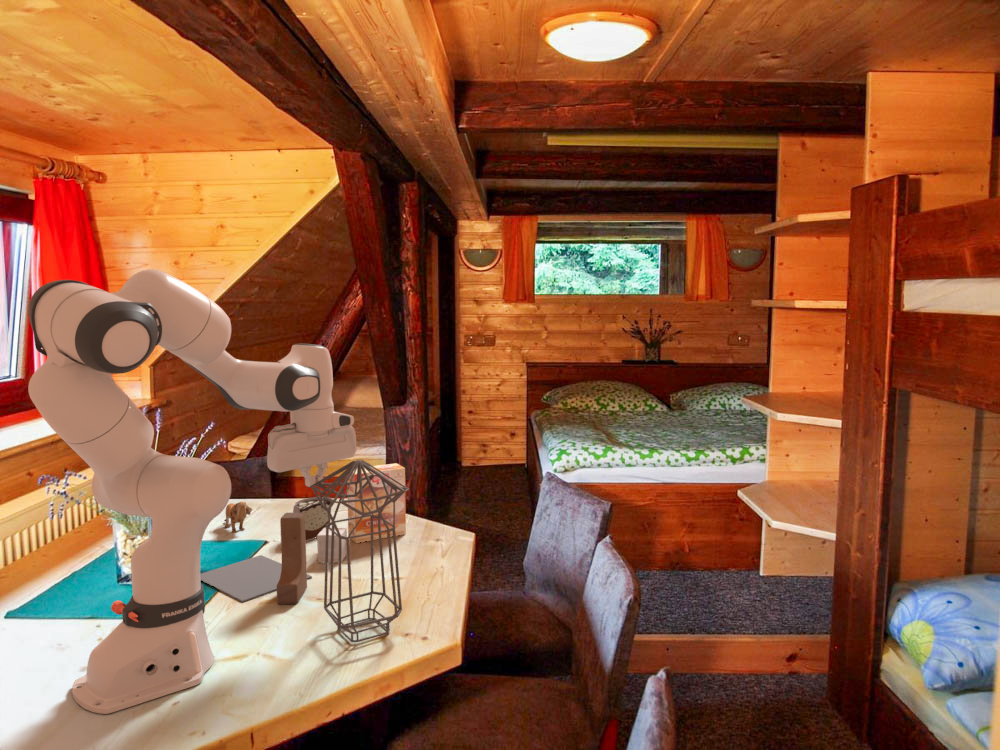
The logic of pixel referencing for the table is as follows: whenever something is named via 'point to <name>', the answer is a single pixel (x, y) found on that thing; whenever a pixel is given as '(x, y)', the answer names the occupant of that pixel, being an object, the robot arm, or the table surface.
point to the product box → (322, 545)
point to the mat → (246, 578)
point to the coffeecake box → (400, 509)
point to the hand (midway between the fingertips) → (314, 485)
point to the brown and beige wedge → (312, 515)
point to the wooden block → (292, 559)
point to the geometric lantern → (348, 472)
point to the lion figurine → (237, 514)
